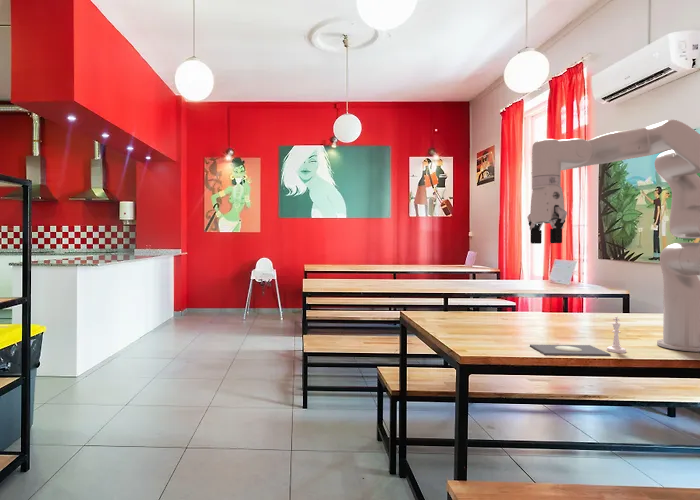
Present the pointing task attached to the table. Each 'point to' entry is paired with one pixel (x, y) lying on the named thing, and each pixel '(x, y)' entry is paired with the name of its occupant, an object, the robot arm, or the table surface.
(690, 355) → the table surface
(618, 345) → the chess piece
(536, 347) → the mat
